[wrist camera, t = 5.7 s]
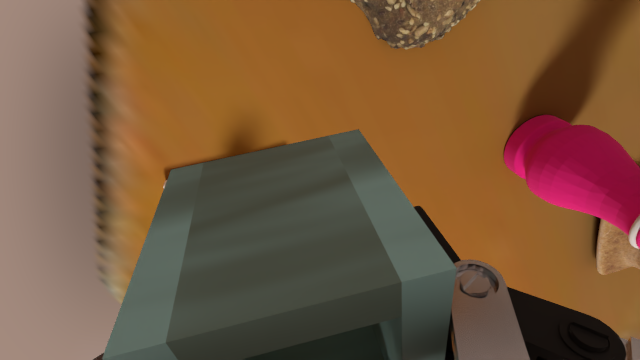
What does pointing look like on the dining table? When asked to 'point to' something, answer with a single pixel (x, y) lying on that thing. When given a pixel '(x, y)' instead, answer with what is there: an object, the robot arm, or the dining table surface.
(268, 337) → the collar
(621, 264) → the beige hollow piece
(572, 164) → the pepper mill
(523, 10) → the dining table surface
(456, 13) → the bread roll
